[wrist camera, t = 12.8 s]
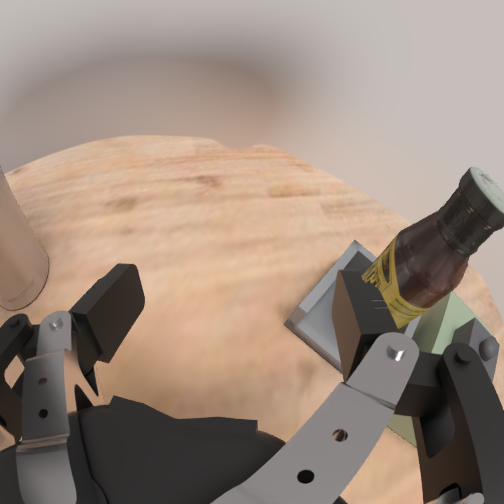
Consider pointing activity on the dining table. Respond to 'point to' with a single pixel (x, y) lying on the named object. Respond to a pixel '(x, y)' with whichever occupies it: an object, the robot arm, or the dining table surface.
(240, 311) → the dining table surface
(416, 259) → the sauce bottle
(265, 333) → the dining table surface
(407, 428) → the knobbed green block
